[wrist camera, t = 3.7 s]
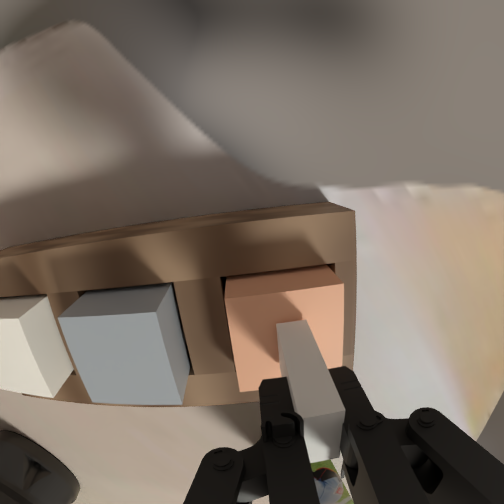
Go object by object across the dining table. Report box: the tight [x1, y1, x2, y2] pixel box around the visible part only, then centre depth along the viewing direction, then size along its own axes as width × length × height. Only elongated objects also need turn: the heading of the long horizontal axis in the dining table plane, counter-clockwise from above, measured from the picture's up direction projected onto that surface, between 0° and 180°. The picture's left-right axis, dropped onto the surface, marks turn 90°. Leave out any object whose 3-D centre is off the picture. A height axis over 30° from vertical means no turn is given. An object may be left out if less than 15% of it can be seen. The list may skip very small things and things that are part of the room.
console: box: [0, 202, 357, 407], centre depth 20 cm, size 27×12×5 cm, turn 96°
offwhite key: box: [0, 294, 74, 398], centre depth 16 cm, size 6×6×4 cm
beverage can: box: [310, 459, 354, 504], centre depth 21 cm, size 6×7×12 cm
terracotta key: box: [224, 264, 344, 392], centre depth 17 cm, size 6×6×4 cm
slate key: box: [58, 283, 191, 405], centre depth 16 cm, size 6×6×4 cm
